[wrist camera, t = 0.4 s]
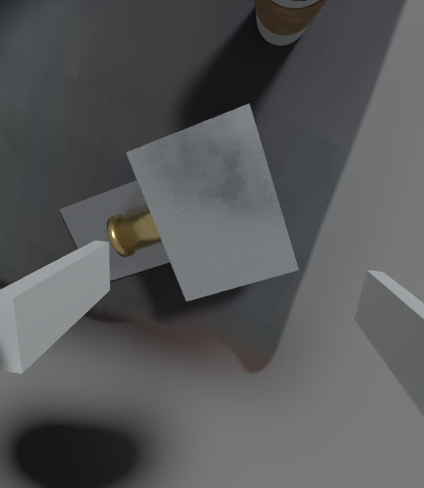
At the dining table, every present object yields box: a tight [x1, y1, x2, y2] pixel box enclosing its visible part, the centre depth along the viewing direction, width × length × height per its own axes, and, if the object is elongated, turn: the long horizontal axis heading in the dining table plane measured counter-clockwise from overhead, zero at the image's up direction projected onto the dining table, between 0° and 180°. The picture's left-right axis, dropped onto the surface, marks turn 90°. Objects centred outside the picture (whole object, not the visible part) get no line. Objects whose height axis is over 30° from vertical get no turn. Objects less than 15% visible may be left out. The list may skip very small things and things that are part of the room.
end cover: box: [107, 207, 162, 257], centre depth 36 cm, size 6×14×6 cm, turn 110°
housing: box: [59, 104, 299, 302], centre depth 35 cm, size 16×28×11 cm, turn 110°
